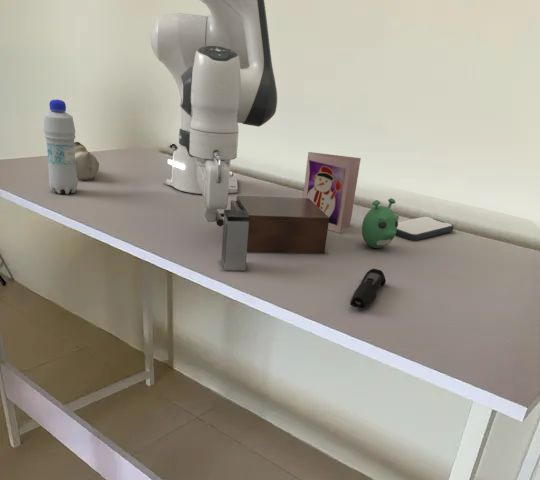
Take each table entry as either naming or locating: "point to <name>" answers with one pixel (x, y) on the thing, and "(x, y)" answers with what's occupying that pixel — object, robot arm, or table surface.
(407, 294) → the table surface
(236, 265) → the grey block
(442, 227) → the phone case
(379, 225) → the alien toy
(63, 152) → the bottle
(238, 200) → the cabinet
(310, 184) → the greeting card
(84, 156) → the ceramic sculpture
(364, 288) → the electric trimmer
